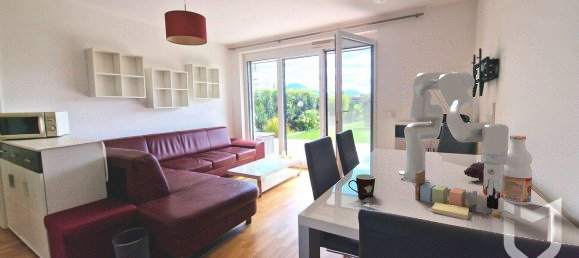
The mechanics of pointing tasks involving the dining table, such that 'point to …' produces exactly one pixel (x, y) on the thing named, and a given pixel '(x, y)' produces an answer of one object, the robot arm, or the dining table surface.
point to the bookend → (474, 207)
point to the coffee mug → (364, 185)
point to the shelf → (421, 180)
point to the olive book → (439, 194)
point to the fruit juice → (517, 173)
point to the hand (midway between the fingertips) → (492, 207)
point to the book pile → (451, 210)
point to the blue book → (426, 192)
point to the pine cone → (475, 170)
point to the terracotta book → (457, 197)
